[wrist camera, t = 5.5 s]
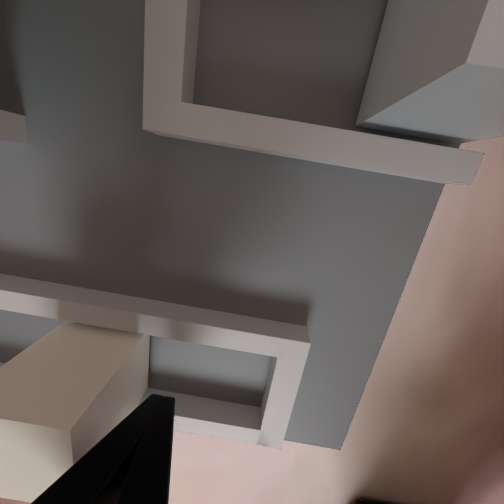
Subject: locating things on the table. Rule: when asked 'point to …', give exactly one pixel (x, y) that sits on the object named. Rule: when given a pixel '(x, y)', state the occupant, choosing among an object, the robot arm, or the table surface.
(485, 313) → the table surface
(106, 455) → the robot arm
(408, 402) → the table surface
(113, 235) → the panel
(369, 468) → the table surface
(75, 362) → the cream slider
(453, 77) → the grey slider
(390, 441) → the table surface
